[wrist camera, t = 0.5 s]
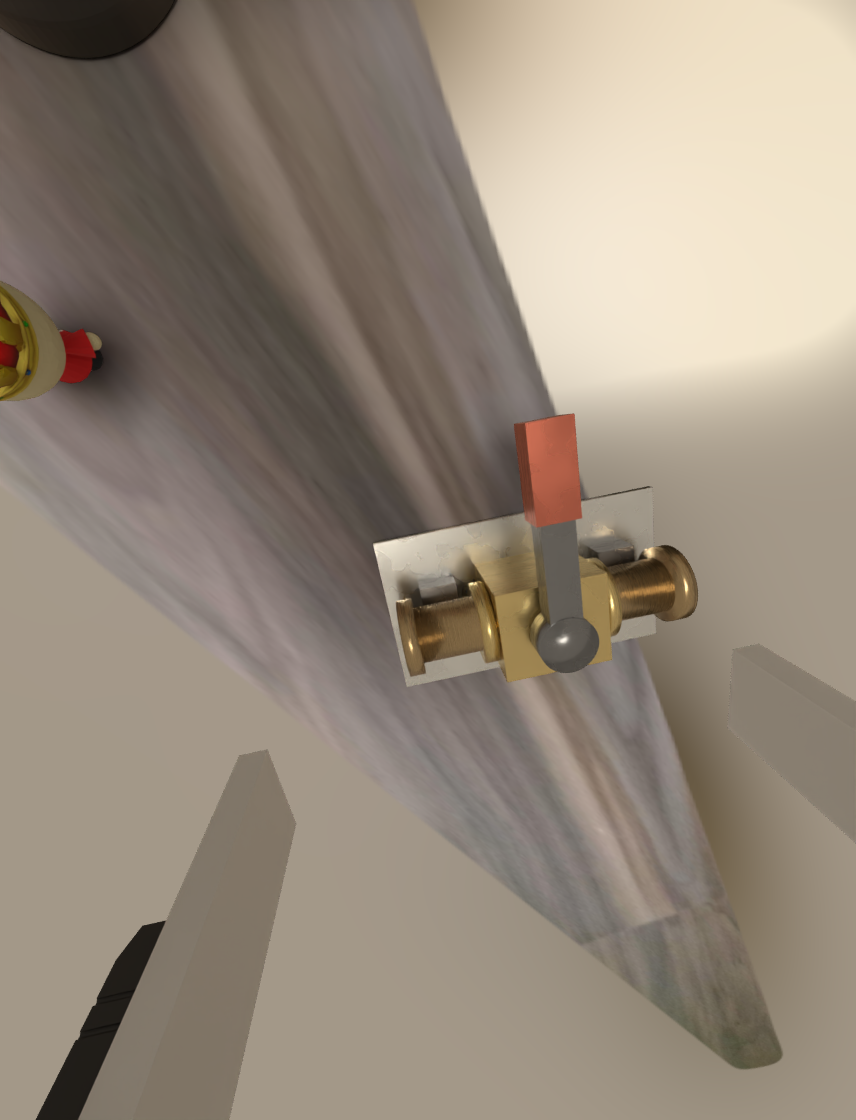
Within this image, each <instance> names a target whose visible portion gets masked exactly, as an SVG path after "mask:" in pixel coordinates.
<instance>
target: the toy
mask: <svg viewBox="0 0 856 1120" xmlns="http://www.w3.org/2000/svg"><path fill="white" fill-rule="evenodd" d="M101 346H102V342H101V340H100V338H99V337H98V336H97V335H95V334H93V333H90V332H86V333H85V332H84V330H83V329H80V330H78V331H76V332H74V333H71V332H68V331H65V330H58V329H57V328H56V326H55V324H54V323H53V321H52V320H51V319H50V317H49V316H48V315H47V314H46V313H45V312H44V311H43V309H42V308H41V307H40V306H39V305H37V304H36V303H35V302H34V301H33V300H32V299H30V298H29V297H28V296H26V295H25V294H24V293H22V292H21V291H19V290H17V289H16V288H14V287H12V286H10V285H8V284H6V283H4V282H2V281H0V401H20V400H26V399H30V398H35V397H37V396H40V395H42V394H44V393H45V392H47V391H49V390H50V389H51V388H53V387H54V386H55V385H56V384H57V383H58V381H59V380H60V381H62V382H67V383H76V382H81V381H82V380H84V379H86V378H87V377H88V375H89V374H90V372H91V370H97V369H99V368H100V367H101V365H102V363H103V358H102V355H101V353H100V351H99V349H100V348H101Z"/></svg>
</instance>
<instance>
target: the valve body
mask: <svg viewBox="0 0 856 1120" xmlns="http://www.w3.org/2000/svg"><path fill="white" fill-rule="evenodd" d="M581 508H582V518H581V519H577V520H576V530H577V542H578V555H579V568H580V580H581V593H582V605H583V617H584V618H585V619H586V620H587V621H588V622H589V623H590V624H592V625H593V627H594V628H595V629H596V631H597V633H598V636H599V648H598V651H597V654H596V655H595V657H594V659H593V660H592V661H591V662H590V663H589V664H588V665H590V664H595V663H600V662H604V661H609V660H612V651H611V643H614V642H618V641H623V640H628V639H632V638H637V637H642V636H646V635H651V634H655V633H656V617H658V618H659V619H661V620H663V621H674V620H678V619H683V618H687V617H689V616H690V615H692V613H693V612H694V611H695V608H696V606H697V601H698V588H697V582H696V578H695V576H694V573H693V570H692V568H691V566H690V564H689V563H688V561H687V559H686V558H685V557H684V556H683V554H682V553H680V552H679V551H678V550H677V549H675V548H674V547H671V546H669V545H661V546H657V547H654V521H653V487H650V486H647V487H642V488H637V489H632V490H628V491H623V492H618V493H613V494H608V495H603V496H599V497H594V498H588V499H584V500H581ZM373 546H374V550H375V554H376V558H377V563H378V567H379V571H380V575H381V580H382V584H383V588H384V592H385V596H386V601H387V605H388V609H389V613H390V618H391V622H392V626H393V630H394V634H395V639H396V643H397V647H398V651H399V656H400V660H401V664H402V668H403V673H404V677H405V681H406V685H407V687H409V686H414V685H419V684H423V683H428V682H433V681H437V680H442V679H446V678H451V677H456V676H460V675H465V674H470V673H474V672H479V671H484V670H488V669H493V668H498V667H500V668H501V670H502V672H503V674H504V676H505V678H506V680H507V682H512V681H516V680H521V679H526V678H530V677H535V676H539V675H544V674H549V673H553V672H556V671H554V670H552V669H550V668H549V667H548V666H547V665H546V664H545V663H544V661H543V660H542V658H541V657H540V656H539V654H538V653H537V651H536V650H535V648H534V647H533V645H532V643H531V640H530V628H531V625H532V623H533V621H534V619H535V618H536V617H537V616H538V615H539V614H540V613H541V608H540V599H539V591H538V582H537V573H536V564H535V556H534V547H533V538H532V529H531V524H530V523H529V522H527V521H525V515H524V512H520V513H515V514H510V515H505V516H500V517H495V518H491V519H486V520H481V521H476V522H471V523H466V524H461V525H456V526H451V527H447V528H442V529H437V530H432V531H427V532H422V533H417V534H412V535H407V536H403V537H398V538H393V539H388V540H383V541H378V542H373Z"/></svg>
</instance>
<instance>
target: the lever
mask: <svg viewBox="0 0 856 1120" xmlns="http://www.w3.org/2000/svg"><path fill="white" fill-rule="evenodd" d="M514 430H515V438H516V447H517V455H518V464H519V472H520V481H521V489H522V498H523V506H524V515H525V521H527V522H529V523H530V524H531V529H532V538H533V547H534V556H535V564H536V573H537V582H538V591H539V599H540V608H541V613H540V614H539V615H538V616H537V617H536V618H535V619H534V621H533V623H532V625H531V628H530V640H531V643H532V645H533V647H534V648H535V650H536V651H537V653H538V654H539V656H540V657H541V658H542V660H543V661H544V663H545V664H546V665H547V666H548V667H549V668H550V669H552V670H554V671H556V672H560V673H571V672H575V671H578V670H580V669H582V668H584V667H585V666H587V665H588V664H589V663H590V662H591V661H592V660H593V659H594V657H595V655H596V654H597V651H598V648H599V636H598V633H597V631H596V629H595V628H594V627H593V625H592V624H590V623H589V622H588V621H587V620H586V619H585V618H584V617H583V605H582V593H581V580H580V568H579V555H578V542H577V530H576V520H577V519H581V518H582V508H581V495H580V482H579V468H578V455H577V442H576V429H575V415H574V414H566V415H557V416H552V417H547V418H542V419H537V420H532V421H527V422H522V423H517V424H514Z"/></svg>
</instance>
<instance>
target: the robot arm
mask: <svg viewBox="0 0 856 1120" xmlns="http://www.w3.org/2000/svg"><path fill="white" fill-rule="evenodd" d="M173 2H174V0H0V27H1V28H3V29H4V30H6V31H7V32H8V33H10V34H12V35H13V36H15V37H17V38H19V39H20V40H22V41H24V42H26V43H28V44H30V45H33V46H35V47H37V48H40V49H42V50H45V51H48V52H51V53H55V54H59V55H64V56H70V57H80V58H93V57H101V56H106V55H111V54H114V53H117V52H120V51H123V50H125V49H127V48H129V47H131V46H133V45H135V44H136V43H138V42H139V41H141V40H142V39H144V38H145V37H146V36H147V35H148V34H150V33H151V32H152V31H153V30H154V29H155V28H156V27H157V25H158V24H159V23H160V22H161V21H162V19H163V18H164V17H165V15H166V14H167V12H168V11H169V9H170V7H171V6H172V4H173ZM728 729H729V730H730V731H731V732H733V733H734V734H735V735H736V736H737V737H738V738H739V739H740V740H741V741H742V742H744V743H745V744H746V745H747V746H748V747H749V748H750V749H751V750H753V751H754V752H755V753H756V754H757V755H758V756H759V757H760V758H762V759H763V760H764V761H765V762H766V763H767V764H768V765H770V767H771V768H772V769H774V770H775V771H776V772H777V773H778V774H779V775H780V776H781V777H783V778H784V779H785V780H786V781H787V782H788V783H789V784H790V785H792V786H793V787H794V788H795V789H796V790H797V791H798V792H799V793H800V794H801V795H803V796H804V797H805V798H806V799H807V800H808V801H809V802H810V803H811V804H813V805H814V806H815V807H816V808H817V809H818V810H819V811H820V812H821V813H823V814H824V815H825V816H826V817H827V818H828V819H829V820H831V822H833V823H834V824H835V825H836V826H837V827H838V828H839V829H840V830H841V831H843V832H844V833H845V834H846V835H847V836H848V837H849V838H850V839H852V840H853V841H854V842H855V843H856V701H854V700H853V699H851V698H849V697H847V696H846V695H844V694H842V693H841V692H839V691H837V690H836V689H834V688H832V687H831V686H829V685H827V684H826V683H824V682H822V681H820V680H819V679H817V678H816V677H814V676H812V675H811V674H809V673H807V672H805V671H804V670H802V669H801V668H799V667H797V666H796V665H793V664H792V663H791V662H789V661H787V660H785V659H784V658H782V657H780V656H779V655H777V654H775V653H774V652H772V651H770V650H769V649H767V648H765V647H764V646H762V645H760V644H755V645H750V646H746V647H741V648H737V649H733V654H732V668H731V684H730V698H729V713H728ZM295 826H296V822H295V819H294V817H293V814H292V812H291V809H290V806H289V804H288V801H287V799H286V796H285V793H284V791H283V789H282V786H281V783H280V781H279V778H278V775H277V773H276V771H275V768H274V765H273V763H272V760H271V758H270V755H269V752H268V750H263V751H258V752H253V753H249V754H244V755H240V756H239V757H238V759H237V762H236V764H235V766H234V769H233V771H232V773H231V776H230V778H229V780H228V782H227V784H226V787H225V789H224V791H223V793H222V796H221V798H220V800H219V802H218V805H217V807H216V809H215V812H214V814H213V816H212V818H211V821H210V823H209V825H208V827H207V830H206V832H205V834H204V837H203V839H202V841H201V843H200V845H199V848H198V850H197V852H196V855H195V857H194V859H193V861H192V864H191V866H190V868H189V870H188V873H187V875H186V877H185V879H184V882H183V884H182V886H181V888H180V891H179V893H178V895H177V897H176V900H175V902H174V904H173V906H172V909H171V911H170V913H169V916H168V918H167V920H166V921H162V922H157V923H153V924H149V925H144V926H142V927H141V928H140V930H139V931H138V932H137V934H136V935H135V936H134V937H133V939H132V940H131V941H130V943H129V944H128V945H127V946H126V948H125V949H124V950H123V952H122V953H121V954H120V956H119V957H118V958H117V960H116V961H115V963H114V965H113V967H112V969H111V971H110V973H109V975H108V977H107V979H106V981H105V983H104V985H103V987H102V989H101V991H100V993H99V995H98V997H97V1003H96V1005H95V1006H93V1007H92V1009H91V1011H90V1013H89V1015H88V1017H87V1019H86V1021H85V1023H84V1025H83V1027H82V1029H81V1031H80V1037H79V1039H78V1040H76V1041H75V1043H74V1045H73V1047H72V1049H71V1051H70V1052H69V1055H68V1057H67V1058H66V1060H65V1062H64V1065H63V1067H62V1068H61V1070H60V1072H59V1074H58V1076H57V1078H56V1080H55V1082H54V1084H53V1086H52V1088H51V1090H50V1092H49V1094H48V1096H47V1098H46V1100H45V1102H44V1104H43V1106H42V1108H41V1110H40V1112H39V1114H38V1116H37V1118H36V1120H229V1118H230V1114H231V1110H232V1105H233V1101H234V1096H235V1091H236V1087H237V1083H238V1078H239V1074H240V1069H241V1065H242V1061H243V1056H244V1052H245V1047H246V1043H247V1039H248V1034H249V1030H250V1025H251V1021H252V1017H253V1012H254V1008H255V1003H256V999H257V994H258V990H259V985H260V981H261V977H262V972H263V968H264V963H265V958H266V955H267V950H268V945H269V941H270V937H271V932H272V928H273V924H274V919H275V915H276V910H277V906H278V902H279V897H280V893H281V888H282V884H283V879H284V875H285V871H286V866H287V862H288V857H289V853H290V849H291V844H292V840H293V835H294V831H295Z"/></svg>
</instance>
